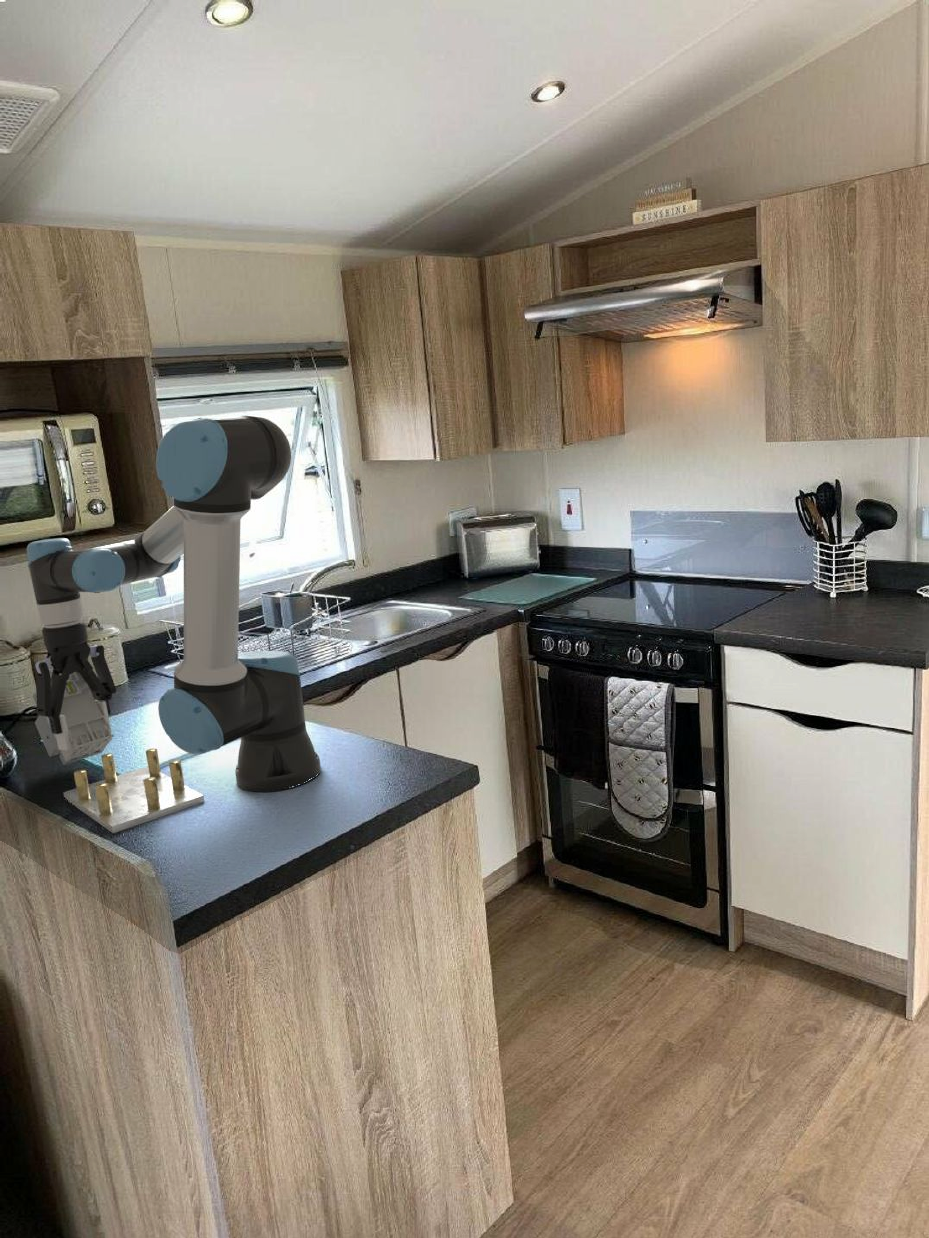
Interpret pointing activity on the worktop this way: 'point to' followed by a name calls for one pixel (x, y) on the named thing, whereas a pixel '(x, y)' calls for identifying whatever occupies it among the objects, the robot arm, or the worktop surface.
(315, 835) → the worktop surface
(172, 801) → the mounting plate
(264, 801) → the worktop surface
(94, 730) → the circuit breaker
